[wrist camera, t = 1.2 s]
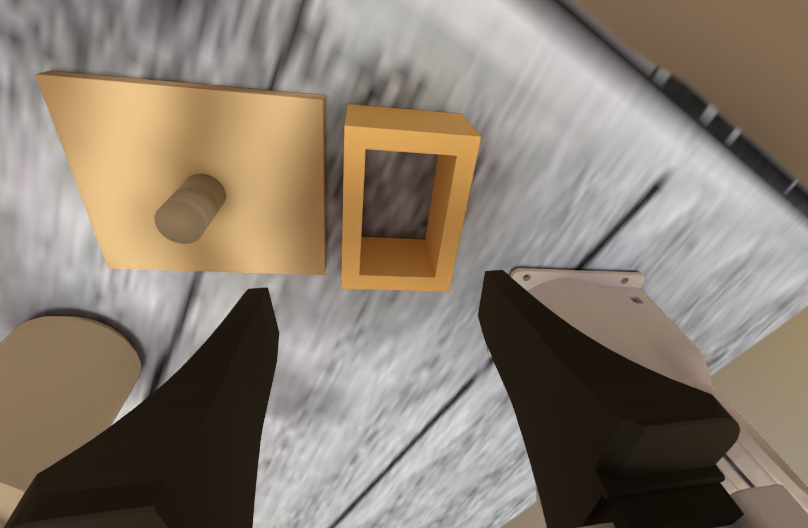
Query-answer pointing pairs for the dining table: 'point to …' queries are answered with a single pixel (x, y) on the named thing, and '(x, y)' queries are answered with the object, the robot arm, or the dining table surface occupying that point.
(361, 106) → the link
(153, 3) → the dining table surface
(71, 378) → the can
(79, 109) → the wooden block with peg
